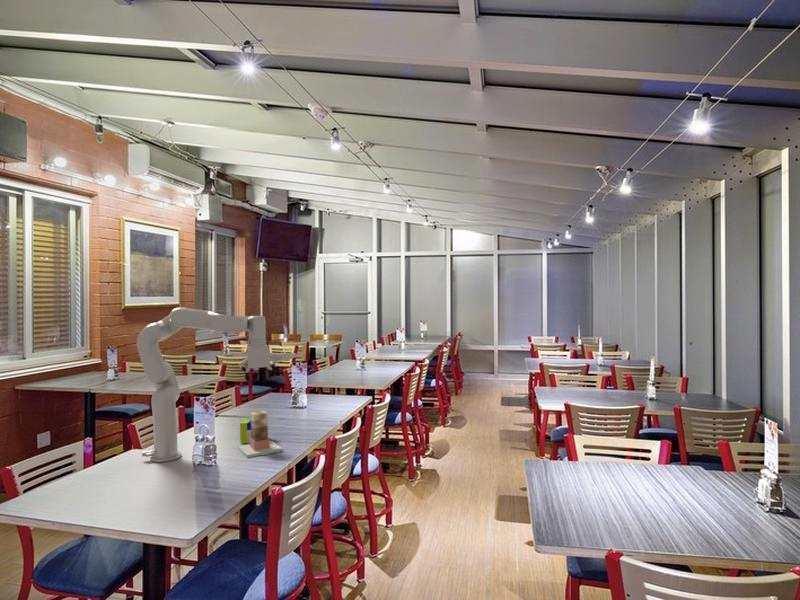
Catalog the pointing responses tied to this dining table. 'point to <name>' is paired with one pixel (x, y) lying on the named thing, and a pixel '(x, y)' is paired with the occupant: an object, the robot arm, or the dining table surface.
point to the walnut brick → (259, 433)
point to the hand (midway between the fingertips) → (258, 379)
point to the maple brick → (259, 419)
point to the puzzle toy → (245, 431)
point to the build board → (258, 452)
